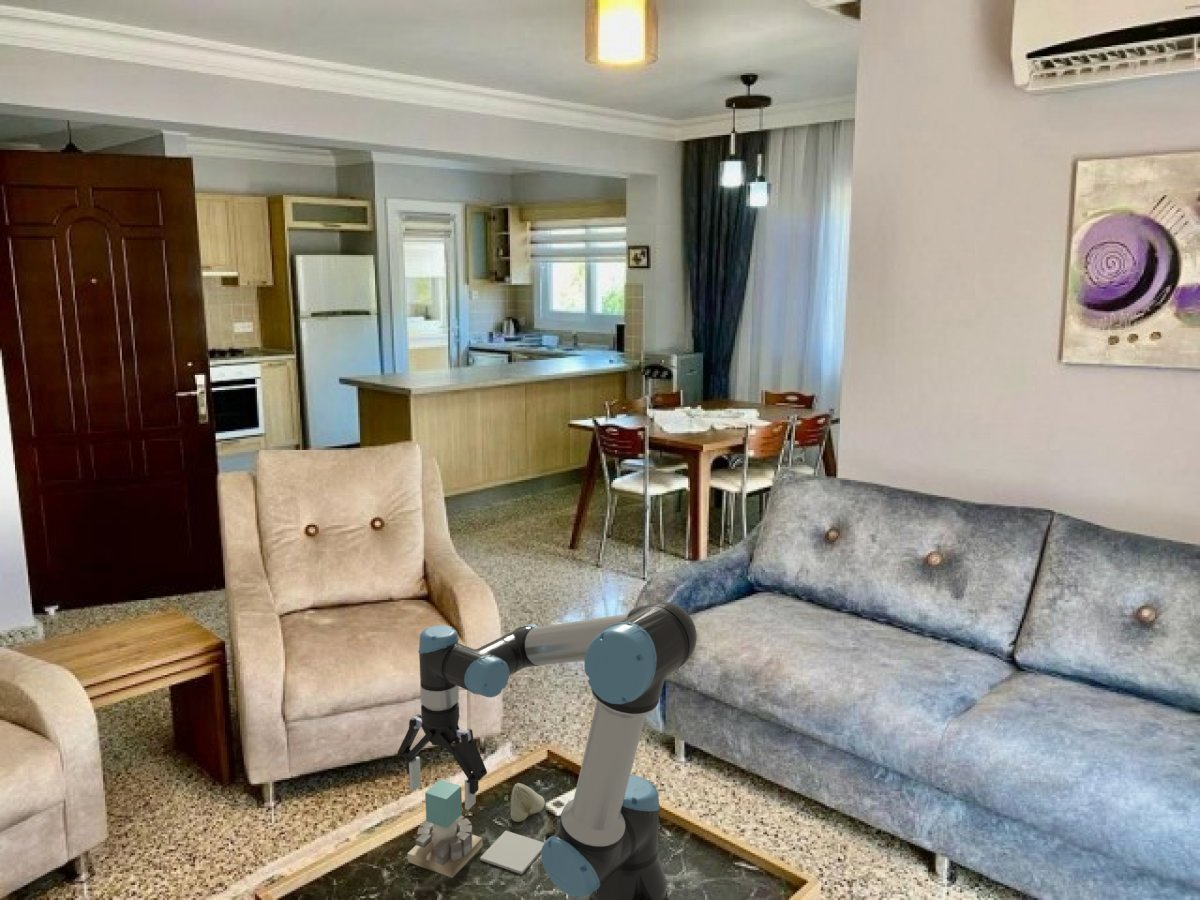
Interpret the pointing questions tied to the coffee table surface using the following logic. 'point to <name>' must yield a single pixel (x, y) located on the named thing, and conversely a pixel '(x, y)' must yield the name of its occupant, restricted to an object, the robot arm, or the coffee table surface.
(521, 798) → the seashell
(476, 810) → the coffee table surface
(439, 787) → the plug
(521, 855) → the mat
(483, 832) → the coffee table surface
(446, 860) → the socket
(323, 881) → the coffee table surface
